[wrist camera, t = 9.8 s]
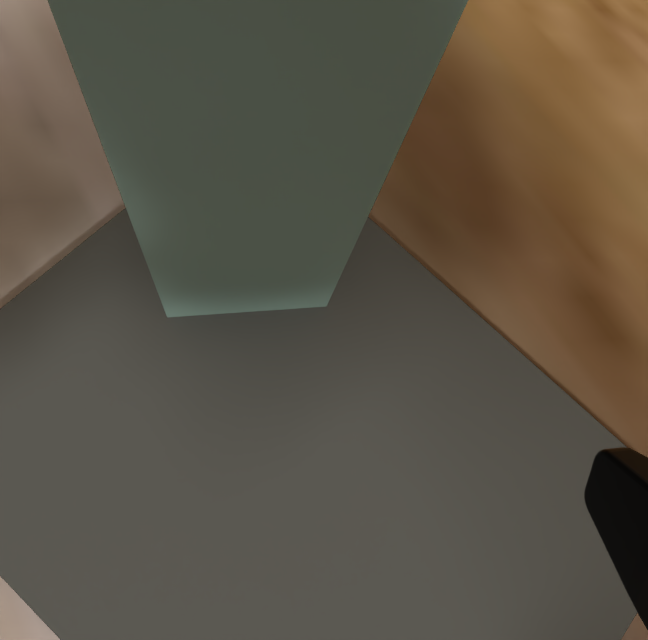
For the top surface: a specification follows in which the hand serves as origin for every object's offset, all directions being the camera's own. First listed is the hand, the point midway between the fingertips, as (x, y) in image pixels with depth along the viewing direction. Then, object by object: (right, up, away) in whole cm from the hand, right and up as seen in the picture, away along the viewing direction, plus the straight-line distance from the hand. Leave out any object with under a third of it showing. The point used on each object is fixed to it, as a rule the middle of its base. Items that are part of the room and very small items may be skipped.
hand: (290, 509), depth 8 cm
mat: (0, -2, +8) cm, 8 cm away
